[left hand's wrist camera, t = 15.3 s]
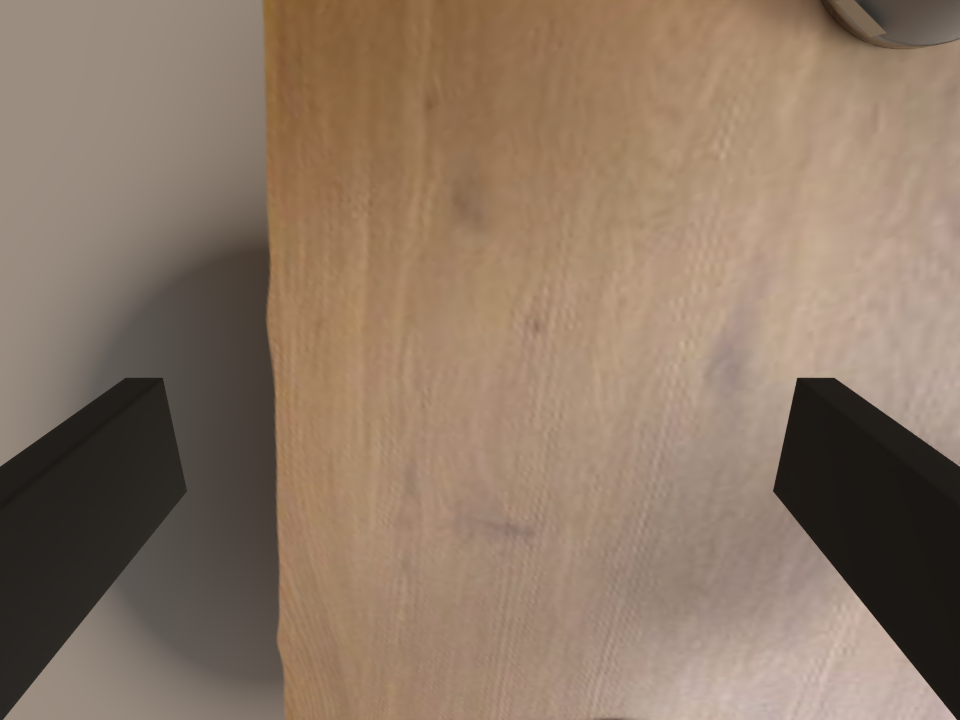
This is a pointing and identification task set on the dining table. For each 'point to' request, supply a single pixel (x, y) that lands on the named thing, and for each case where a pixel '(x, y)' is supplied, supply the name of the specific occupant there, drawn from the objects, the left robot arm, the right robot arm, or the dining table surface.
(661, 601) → the dining table surface
